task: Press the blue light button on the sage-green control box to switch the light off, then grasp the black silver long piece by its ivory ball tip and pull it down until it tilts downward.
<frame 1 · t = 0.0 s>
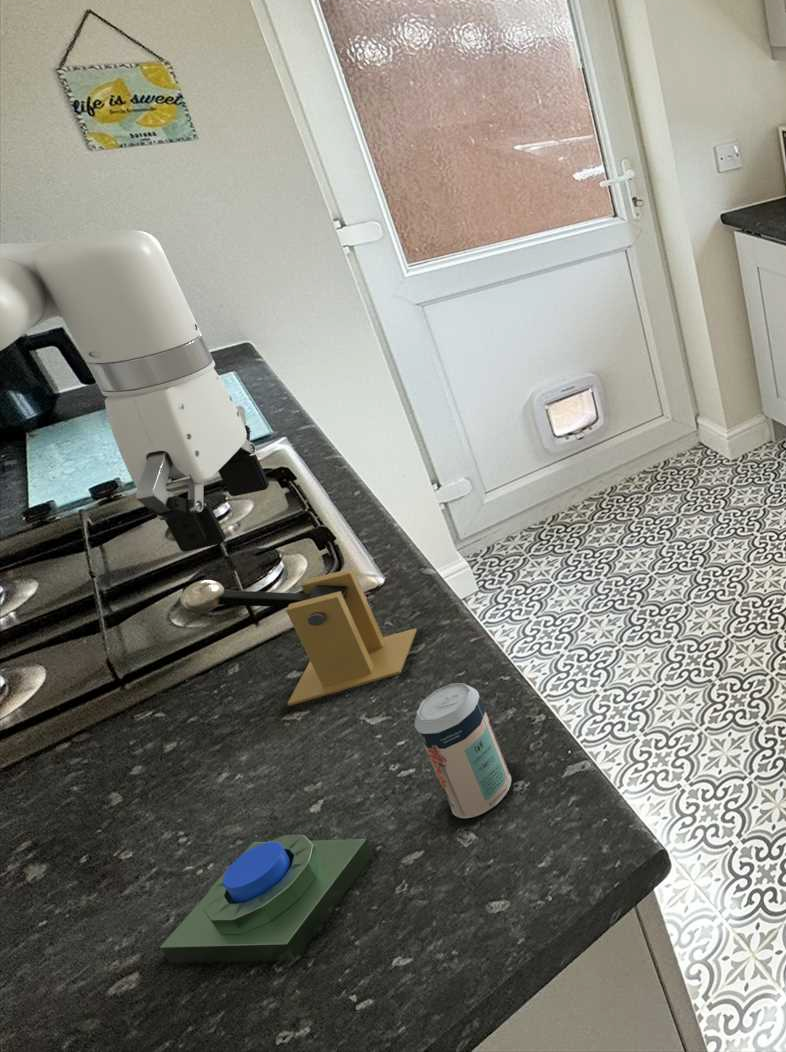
hand: (229, 517, 78), 22 cm above the counter, tool pointing down, fingers open, 9 cm apart
switch bracket: (358, 671, 87), on the counter
button box: (278, 907, 64), on the counter
black silver long piece: (265, 599, 81), point 12 cm above the counter, hinge at 25.0°
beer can: (484, 798, 72), on the counter
light button: (257, 871, 62), point 4 cm above the counter, slide at 0.1 cm
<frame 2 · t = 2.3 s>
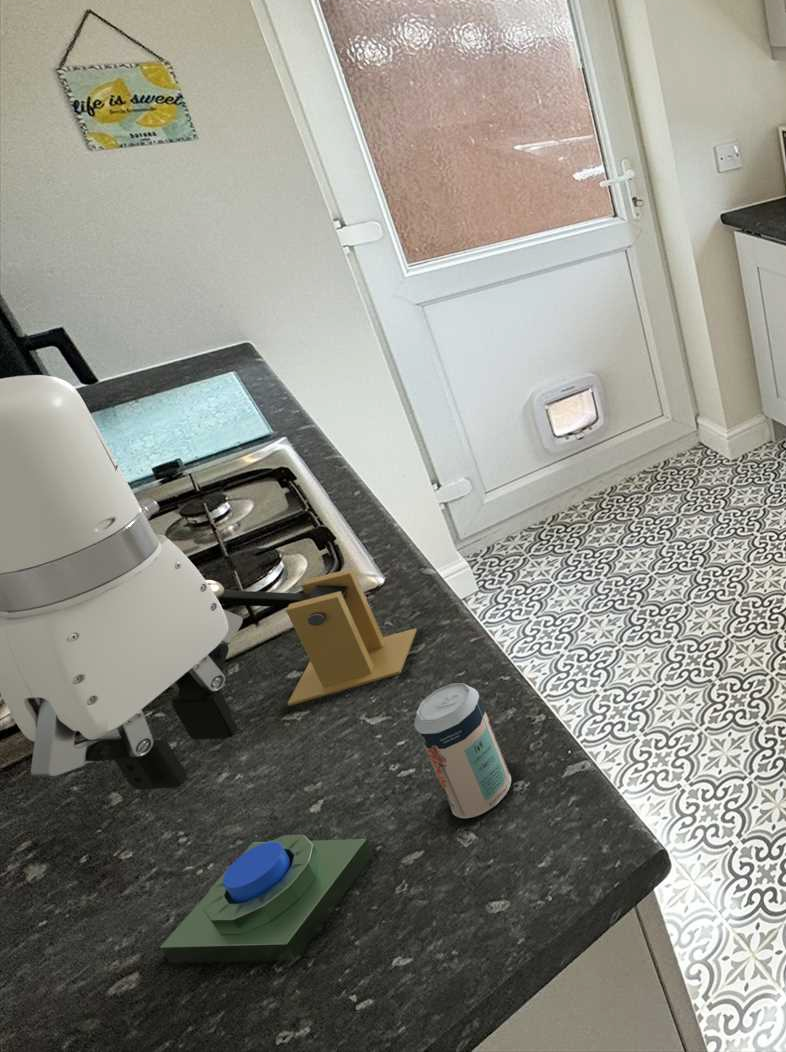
hand: (189, 757, 58), 17 cm above the counter, tool pointing down, fingers open, 3 cm apart
nothing on the counter moved.
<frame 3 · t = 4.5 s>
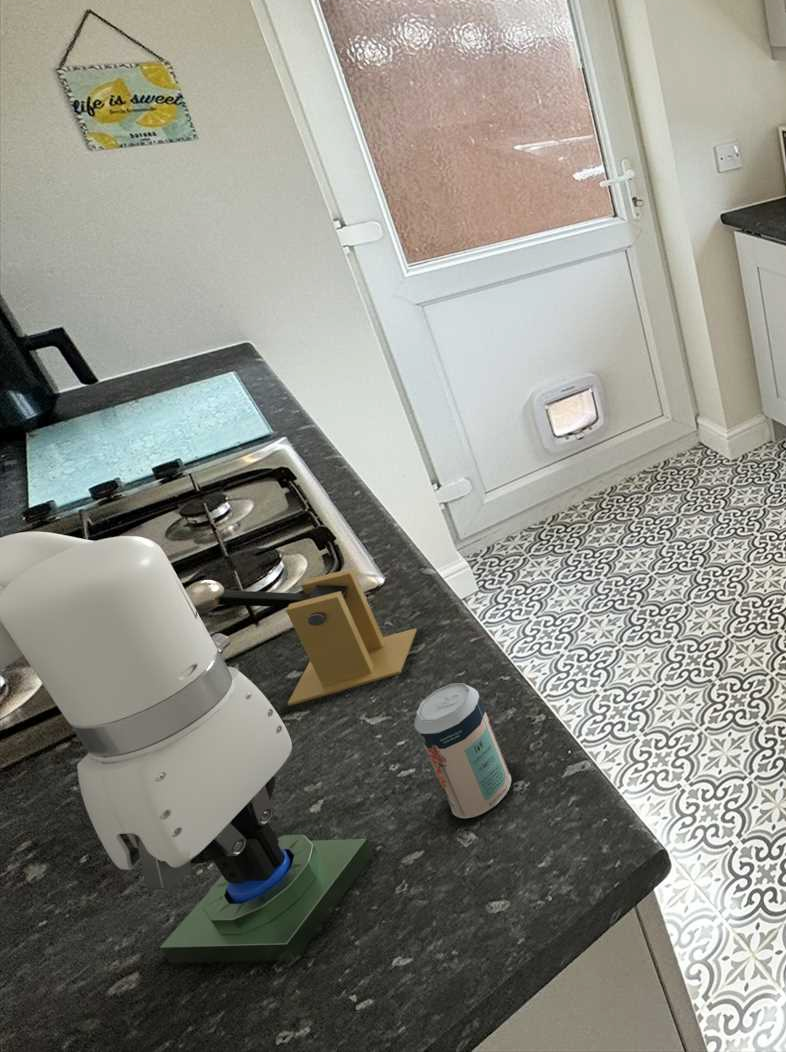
hand: (258, 870, 62), 5 cm above the counter, tool pointing down, fingers closed
light button: (261, 877, 63), point 4 cm above the counter, slide at -0.7 cm, touching gripper
everything else where it was.
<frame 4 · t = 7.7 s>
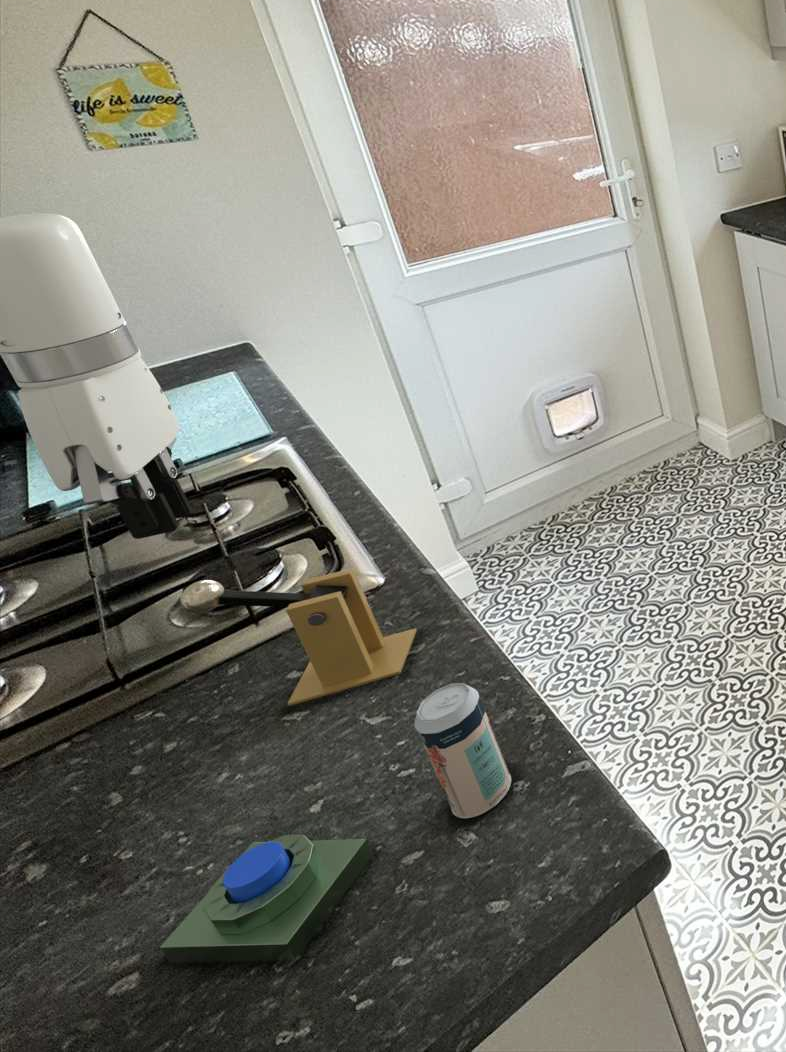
hand: (164, 524, 75), 23 cm above the counter, tool pointing down, fingers closed
light button: (257, 871, 62), point 4 cm above the counter, slide at 0.1 cm
everything else where it was.
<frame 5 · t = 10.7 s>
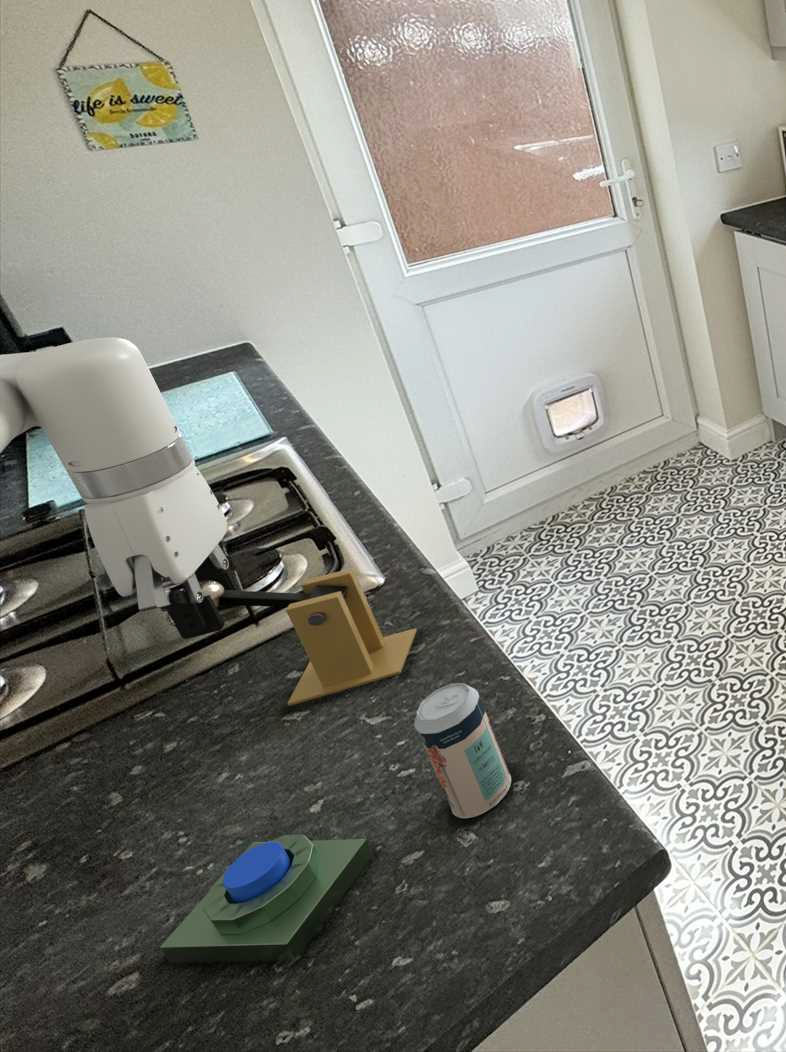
hand: (213, 618, 80), 11 cm above the counter, tool pointing down, fingers closed on black silver long piece, 3 cm apart
black silver long piece: (265, 599, 81), point 12 cm above the counter, hinge at 25.0°, touching gripper
everything else where it was.
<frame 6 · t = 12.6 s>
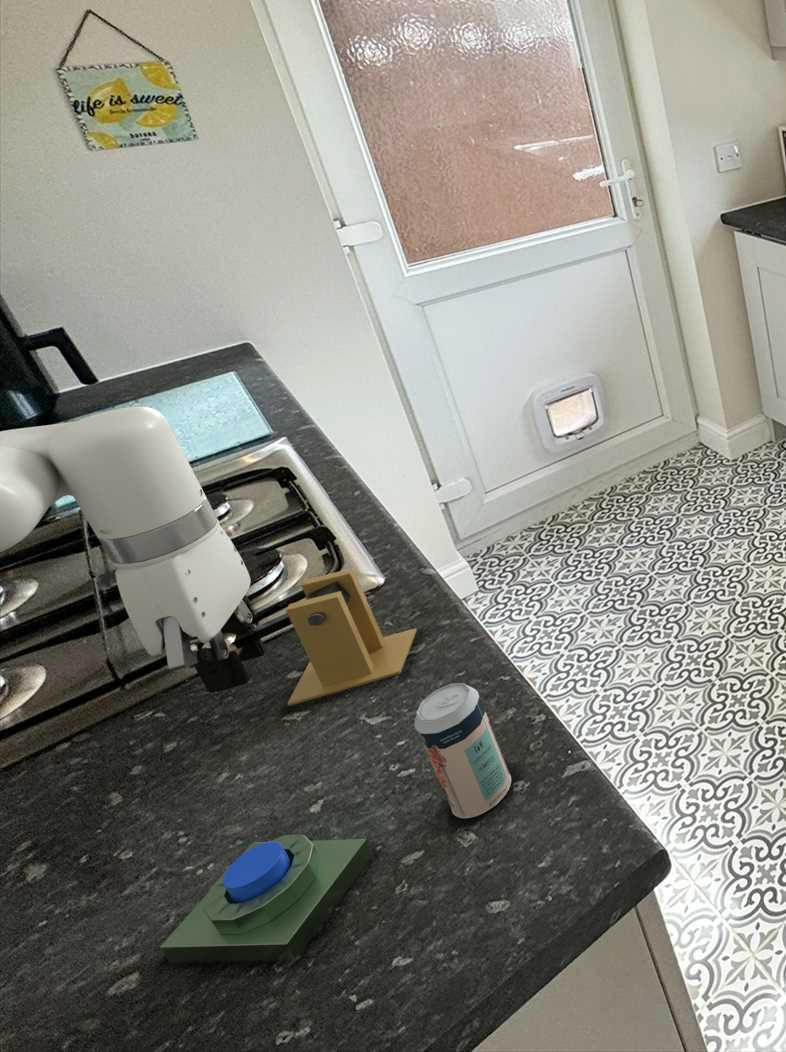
hand: (238, 670, 82), 4 cm above the counter, tool pointing down, fingers closed on black silver long piece, 3 cm apart
black silver long piece: (273, 625, 82), point 9 cm above the counter, hinge at -14.4°, touching gripper
everything else where it was.
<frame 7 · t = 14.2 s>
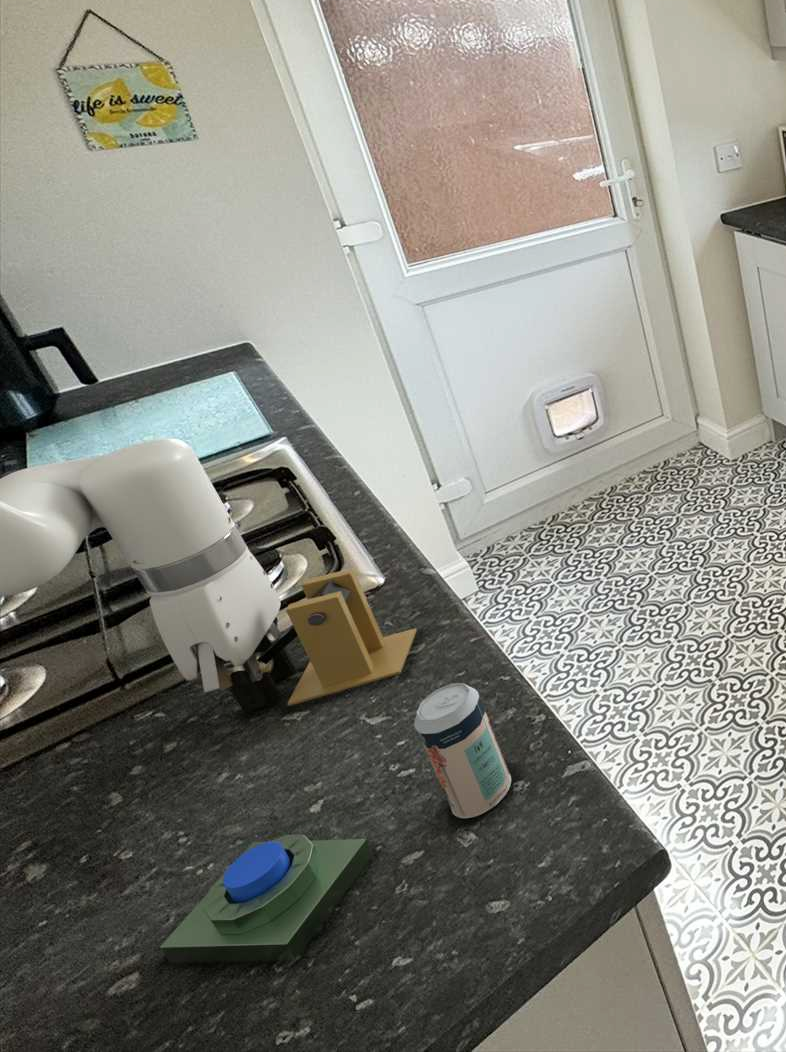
hand: (272, 690, 84), 1 cm above the counter, tool pointing down, fingers closed on black silver long piece, 3 cm apart
black silver long piece: (289, 635, 83), point 7 cm above the counter, hinge at -35.5°, touching gripper
everything else where it was.
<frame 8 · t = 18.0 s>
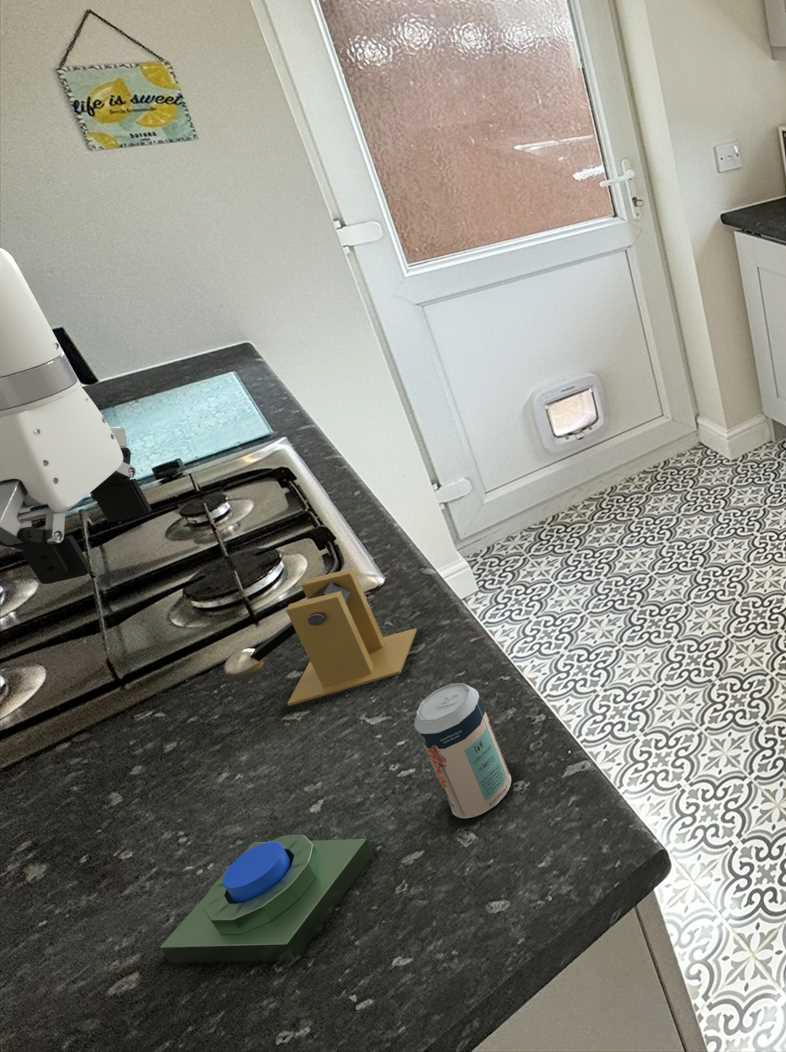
hand: (101, 545, 74), 22 cm above the counter, tool pointing down, fingers open, 9 cm apart
black silver long piece: (285, 633, 83), point 7 cm above the counter, hinge at -30.5°
everything else where it was.
at the end: light button pushed in 1.1 cm at the most during the clip, back to where it started at the end; light button slide at 0.1 cm; black silver long piece at -30° (first picture: +25°) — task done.
